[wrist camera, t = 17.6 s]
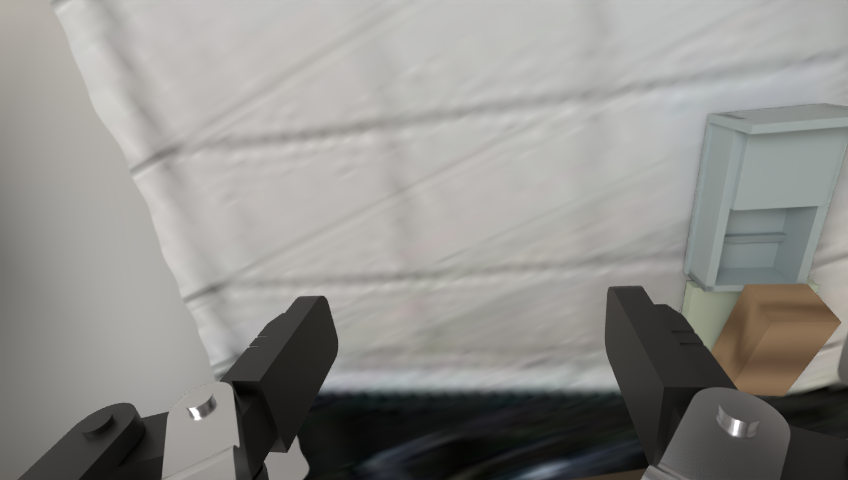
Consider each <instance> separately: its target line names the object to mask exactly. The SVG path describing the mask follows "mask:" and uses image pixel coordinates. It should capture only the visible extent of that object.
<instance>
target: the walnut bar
mask: <svg viewBox="0 0 848 480" xmlns="http://www.w3.org/2000/svg"><path fill="white" fill-rule="evenodd" d="M840 323H841V321H840V320H839V319H838V318H837V317H836V316H835V314H834V313H833V312H832V311H831V310H830V309H829V308H828V307H827V305H826V304H825V303H824V302H823V301H822V300H821V299H820V297H819V296H818V295H817V294H816V293H815V292H814V291H813V290H812V288H811V287H810V286H809V285H808V284H745V286H744V288H743V290H742V292H741V294H740V296H739V298H738V300H737V302H736V304H735V306H734V308H733V310H732V312H731V314H730V316H729V318H728V319H727V321H726V323H725V325H724V327H723V329H722V331H721V333H720V335H719V337H718V339H717V341H716V343H715V345H714V347H713V349H712V351H711V353H712V355H713V356H714V358H715V359H716V360H717V362H718V363H719V364H720V366H721V367H722V368H723V370H724V371H725V372H726V374H727V375H728V377H729V378H730V379H731V381H732V382H733V383H734V385H735V386H736V387H737V389H738V390H739V391H742V392H745V393H748V394H750V395H771V396H784V395H785V394H786V392H787V391H788V390H789V389H790V387H791V386H792V385H793V384H794V382H795V381H796V380H797V378H798V377H799V376H800V375H801V373H802V372H803V371H804V369H805V368H806V367H807V366H808V364H809V363H810V362H811V361H812V359H813V358H814V357H815V355H816V354H817V353H818V352H819V350H820V349H821V348H822V346H823V345H824V344H825V343H826V341H827V340H828V339H829V338H830V336H831V335H832V334H833V332H834V331H835V330H836V329H837V327H838V326H839V325H840Z"/></svg>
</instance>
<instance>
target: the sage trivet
mask: <svg viewBox="0 0 848 480" xmlns="http://www.w3.org/2000/svg"><path fill="white" fill-rule="evenodd" d="M806 284H808V285H809V286H810V287H811V288H812V290H813V291H814V292H815V293H817V290H818V287H819V285H818V284H817V283H815V282H814V281H812V280H811V279H809V278H807V281H806ZM741 292H742V291H730V292H704V291H703V290H702V289H701V288H700V287H699V286H698V284H697V283H696V282H695V281H687V285H686V291H685V297H684V303H683V309H682V315H683V316H684V317H685V318H686V320H687V321H688V322H689V324H690V325H691V326H692V328H693V329H694V330H695V333H697V335H698V336H699V337H700V339H701V340H702V341H703V344H704V346H706V347H707V348H708V349H709V351H710V352H711V351H712V349H713V347H714V345H715V343H716V341H717V339H718V337H719V335H720V333H721V331H722V329H723V327H724V325H725V323H726V321H727V319H728V318H729V316H730V314H731V312H732V310H733V308H734V306H735V304H736V302H737V300H738V298H739V296H740V294H741Z"/></svg>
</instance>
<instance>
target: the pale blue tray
mask: <svg viewBox="0 0 848 480" xmlns="http://www.w3.org/2000/svg"><path fill="white" fill-rule="evenodd" d="M847 145H848V106H842V105H834V104H826V103H823V104H812V105H801V106H791V107H780V108H769V109H758V110H747V111H736V112H725V113H715V114H708V119H707V125H706V131H705V137H704V144H703V150H702V156H701V162H700V169H699V175H698V181H697V187H696V194H695V200H694V206H693V212H692V219H691V225H690V231H689V237H688V244H687V250H686V256H685V262H684V269H683V273H684V274H685V275H689V276H690V277H691V278H692V279H693V280H694V281H695V282H696V283H697V284H698V286H699V287H700V288H701V289H702V290H703V291H704V292H730V291H742V290H743V288H744V286H745V284H806V281H807V278H808V275H809V271H810V268H811V265H812V261H813V258H814V255H815V251H816V248H817V245H818V241H819V238H820V235H821V231H822V228H823V225H824V221H825V218H826V215H827V211H828V208H829V205H830V202H831V198H832V195H833V192H834V188H835V185H836V182H837V178H838V175H839V172H840V168H841V165H842V162H843V158H844V155H845V152H846V148H847Z"/></svg>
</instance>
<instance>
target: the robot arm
mask: <svg viewBox="0 0 848 480" xmlns="http://www.w3.org/2000/svg"><path fill="white" fill-rule="evenodd" d="M605 345H606V352H607V356H608V359H609V362H610V364H611V367H612V369H613V372H614V375H615V377H616V380H617V382H618V385H619V388H620V390H621V393H622V395H623V398H624V401H625V403H626V406H627V408H628V411H629V414H630V416H631V419H632V421H633V424H634V427H635V429H636V432H637V434H638V437H639V439H640V442H641V445H642V447H643V450H644V452H645V455H646V458H647V460H648V463H649V465H650V466H649V467H648V468H647V470H646V472H645V473H644V475H643V477H642V479H641V480H848V440H846V439H842V438H838V437H834V436H829V435H825V434H821V433H817V432H813V431H808V430H804V429H801V428H797V427H794V426H791V425H788V424H787V422H786V421H785V419H784V418H783V417H782V415H781V414H780V413H779V412H778V411H777V410H775V409H774V408H773V407H772V406H770V405H769V404H767V403H766V402H764V401H763V400H761V399H759V398H757V397H755V396H753V395H750V394H748V393H745V392H742V391H739V390H738V389H737V387H736V386H735V385H734V383H733V382H732V381H731V379H730V378H729V377H728V375H727V374H726V372H725V371H724V370H723V368H722V367H721V366H720V364H719V363H718V362H717V360H716V359H715V358H714V356H713V355H712V353H711V352H710V351H709V349H708V348H707V347H706V346H704V344H703V341H702V340H701V339H700V337H699V336H698V335H697V333H695V330H694V329H693V328H692V326H691V325H690V324H689V322H688V321H687V320H686V318H685V317H684V316H683V315H681V314H680V313H678V312H677V311H675V310H674V309H672V308H671V307H669V306H668V305H666V304H656V305H654V304H653V302H652V301H651V299H650V298H649V296H648V295H647V293H646V292H645V290H644V289H643V287H642V286H615V287H609V289H608V293H607V307H606V324H605ZM337 352H338V337H337V333H336V330H335V326H334V322H333V319H332V315H331V311H330V308H329V304H328V301H327V299H326V298H325V297H324V296H301V297H298V298H297V299H296V300H295V301H294V302H293V304H292V305H291V306H290V307H289V309H288V310H287V311H286V312H285V313H282V314H281V315H279V316H278V317H276V318H275V319H274V320H272V321H271V322H269V323H268V324H267V325H266V326H265V327H264V329H263V330H262V331H261V332H260V334H259V335H258V338H255V340H254V341H253V342H252V343H251V344H250V347H249V348H247V349H246V350H245V352H244V353H243V354H242V355H241V356H240V358H239V359H238V360H237V361H236V362H235V364H234V365H233V366H232V367H231V368H230V370H229V371H228V372H227V373H226V374H225V376H224V377H223V378H222V379H221V380H220V382H213V383H208V384H205V385H202V386H200V387H197V388H195V389H194V390H192V391H190V392H188V393H187V394H185V395H184V396H183V397H181V398H180V399H179V400H178V401H177V402H176V403H175V404H174V405H173V407H172V408H171V410H170V412H166V413H161V414H157V415H153V416H149V417H145V418H141V417H140V415H139V414H138V412H137V410H136V408H135V407H134V406H133V405H132V404H130V403H118V404H114V405H110V406H107V407H105V408H102V409H100V410H98V411H96V412H94V413H93V414H91V415H89V416H88V417H86V418H85V419H84V420H82V421H81V422H79V423H78V424H77V425H76V426H74V427H73V428H72V429H71V430H70V431H69V432H68V433H67V434H66V435H65V436H64V437H63V438H62V439H60V440H59V441H58V442H57V443H56V444H55V445H54V446H53V447H52V448H51V449H50V450H49V451H48V452H47V453H46V454H45V455H44V456H42V457H41V458H40V459H39V460H38V461H37V462H36V463H35V464H34V465H33V466H32V467H31V468H30V469H29V470H28V471H27V472H25V473H24V474H23V475H22V476H21V477H20V478H19V479H18V480H269V478H268V472H267V468H266V465H265V463H264V460H265V458H266V456H267V455H268V453H269V452H282V453H287V452H288V450H289V448H290V446H291V444H292V443H293V440H294V439H295V437H296V435H297V433H298V431H299V429H300V427H301V425H302V423H303V421H304V419H305V417H306V415H307V413H308V411H309V409H310V407H311V405H312V403H313V402H314V400H315V398H316V396H317V394H318V392H319V390H320V388H321V386H322V384H323V382H324V380H325V378H326V376H327V374H328V372H329V370H330V368H331V366H332V364H333V363H334V361H335V358H336V356H337Z"/></svg>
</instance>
